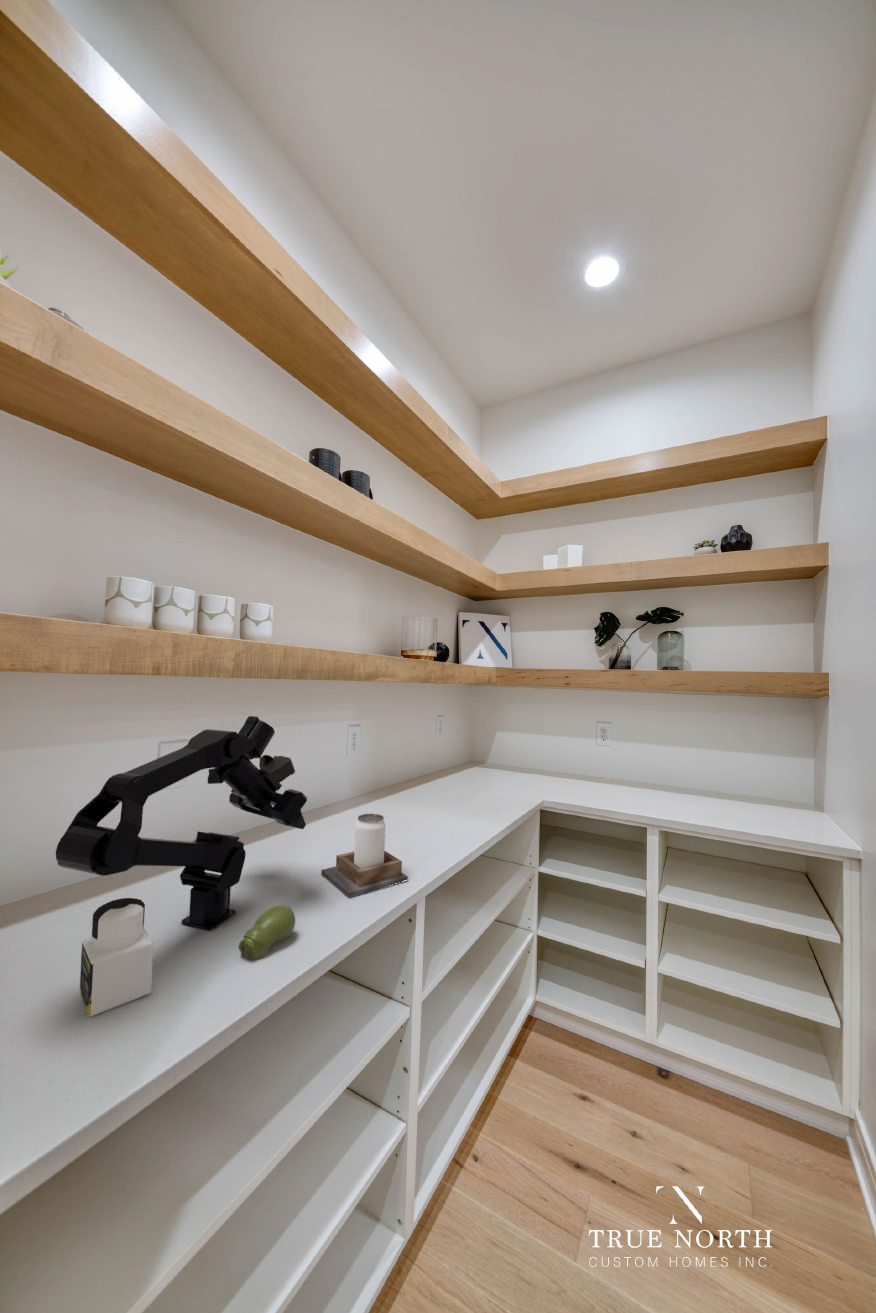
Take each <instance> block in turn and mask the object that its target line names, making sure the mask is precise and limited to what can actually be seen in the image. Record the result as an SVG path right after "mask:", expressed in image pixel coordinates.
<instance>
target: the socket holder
mask: <svg viewBox="0 0 876 1313" xmlns="http://www.w3.org/2000/svg"><path fill="white" fill-rule="evenodd" d="M335 857H336V860H335V861H336V862H335V865H334V866H332V867H328V868H324V869H321V872H320V874H321V876H322V877H323V878H325V879H326V880H327V881H328V882H330V884H332V885H333V886H334V887H335V888H336V889H337V890H339V891H340V892H341V893H342V894H344V895H345V896H346V897H347V898H348V899H350V898H351V899H352V898H355V897H359V896H361V894H362V895H364V894H367V893H368V892H369V893H371V891H372V892H375V891H374V890H376V891H378V890H377V889H379V890H381V889H380V888H383V889H385V888H384V887H386V886H389V885H392V884H395V883H399V882H402V881H404V880H407V879H408V880H409V878H408V877H409V876H408V875H406V874H404V873H403V872H402V867H403V861H402V860H401V859H399V858H398V857H395V856H394V855H393V854H391V853H390V852H388V851H386V850H384V863H383V864H379V865H375V866H371V867H367V868H363V869H361V868H360V867H358V866H357V865H356V864H354V851H351V852H346V853H341V854H337V855H336V856H335ZM389 887H390V886H389ZM386 888H387V887H386ZM369 893H368V894H369Z"/></svg>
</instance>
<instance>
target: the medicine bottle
mask: <svg viewBox="0 0 876 1313" xmlns="http://www.w3.org/2000/svg"><path fill="white" fill-rule="evenodd" d="M145 908H146V904H145V903H144V901H142V900H141V899H139V898H136V897H135V898H134V897H125V898H124V897H122V898H117V899H114V900H111V901H108V902H106V903H104V904H102V905H101V906H99V907H98V908H97V909H96V910H95V911H94V912H93V913H92V924H91V926H92V928H91V936H89V937H85V938H83V939H82V941H81V956H80V974H79V975H80V976H79V978H80V979H79V992H80V995H81V998H82V1000H83V1003H84V1006H85V1010H86V1011H87V1015H88V1017H94V1016H96V1015H99V1014H102V1013H104V1012H107V1011H109V1010H111V1009H115V1008H117V1007H120V1006H122V1005H125V1004H127V1003H129V1002H131V1001H134V1000H137V999H140V998H142V997H144V996H147V995H149V994H151V992H152V981H153V980H152V979H153V978H152V977H153V962H154V960H153V959H154V941H153V940H152V938H151V937H150V935H149V933H148V932H147V930H146V929H145V911H146V910H145Z"/></svg>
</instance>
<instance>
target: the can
mask: <svg viewBox="0 0 876 1313" xmlns="http://www.w3.org/2000/svg"><path fill="white" fill-rule="evenodd" d="M384 819H385V818H384V815H381V814H378V813H363V814H360V815H358V817H357V821H356V823H355V828H354V830H355V832H354V851H353V852H354V864H356V865H357V866H358V867H360V868H361V869H363V868H367V867H371V866H375V865H379V864H383V863H384V851H385V848H386V846H385V844H386V823H385V821H384Z"/></svg>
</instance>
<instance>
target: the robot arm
mask: <svg viewBox="0 0 876 1313" xmlns="http://www.w3.org/2000/svg"><path fill="white" fill-rule="evenodd" d="M275 733H276V732H275V729H274V727H272V726H271V725H270V724H268V723H267V722H265V721H263V720H261V719H260V718H259V717H258V716H255V715H254V716H252V715H249V716H247V719H246V720H245V721H244V724H243V726H242V727H241V728H240V730H239V731H238V732H237V731H230V730H222V729H221V730H219V729H211V728H209V729H208V728H207V729H203V730H202V731H200V732H199V733H197V734H196V735H194V736H192V737H191V738H190V739H189V741H188V742H187V744H186V745H185V746H183V747H182V748H180V749H177V750H175V751H173V752H170V753H167V754H165V755H163V756H161V757H158V758H156V759H154V760H152V761H149V762H146V763H144V764H142V765H138V766H137V767H135V768H131V770H128V771H125V772H121V773H120V772H119V773H116V774H113V775H112V776H110V777H109V778H108V779H107V780H106V782H105V783H104V785H103V786H102V788H101V790H100V791H99V793H98V794H97V795H96V796H95V797H94V798H92V799H91V800H90V801H89V802H88V803H87V804H85V806H83V807H82V808H81V809H80V810H79V811H78V812H76V815H75V816H74V817H73V819H72V821H71V823H70V825H69V826H68V827H67V829H66V830H65V832H64V834H63V835H62V836H61V838H60V840H59V841H58V843H57V846H56V849H55V860H56V862H57V865H58V866H59V867H61V868H65V869H70V870H74V871H79V872H85V873H88V874H93V875H98V876H103V877H104V876H109V875H114V874H120V873H125V872H127V871H129V870H130V869H131V868H133V867H136V866H141V867H142V866H143V867H145V866H149V867H156V866H157V867H184V868H183V870H182V871H181V872H180V874H179V878H180V882H181V885H183V886H190V887H192V888H190V892H189V897H190V898H189V913H188V914H189V915H188V916H186V917H185V918H183V919H181V924H182V925H185V926H186V925H187V926H191V927H195V928H200V929H202V930H208V931H211V930H214V929H216V928H217V927H218V926H220V925H221V924H223V923H224V922H225V921H227V920H228V919H230V918H231V917H232V916H234V915H235V914H236V913H237V910H236V909H234V908H230V905H231V891H232V890H231V888H232V887H233V886H235V885H237V884H238V883H240V881H241V880H240V879H241V876H242V872H243V868H244V864H245V861H246V849H245V848H244V846H245V844H244V842H242V841H240V840H239V839H240V837H239V836H235V835H231V834H230V835H228V834H222V833H217V832H204V831H197V832H196V839H195V840H192V841H188V840H187V841H185V840H175V839H174V840H173V839H164V838H163V839H161V838H150V837H149V838H148V837H141V836H139V834H140V833H141V831H142V825H143V814H144V811H143V810H144V806H145V804H146V802H147V800H148V798H149V797H150V796H152V795H154V794H156V793H158V792H161V791H162V790H164V789H166V788H168V787H170V786H172V785H174V784H176V783H178V782H180V781H182V780H184V779H186V778H188V777H189V776H192V775H194V774H196V773H198V772H200V771H202V770H207V769H208V776H207V784H208V785H214V784H215V785H218V784H223V783H225V784H226V785H228V787H230V788H231V790H230V792H231V793H230V794H229V800H228V802H229V803H230V804H231V805H233V807H235V808H237V809H240V810H242V811H244V812H248V813H250V814H255V815H258V816H262V817H265V818H268V819H271V820H274V821H276V823H277V824H280V825H283V826H287V827H291V828H295V829H299V830H304V829H305V828H306V825H307V824H306V821H305V818H304V815H303V814H302V813H303V812H302V808H304V806H305V805H306V803H307V801H308V797H307V796H306V795H305V794H304V793H303V791H302V792H301V791H299V790H296V789H289V788H288V789H285V790H284V791H283V793H279V792H277V791H279V790H280V789H281V788H282V786H283V784H281V782H283V781H284V780H286V779H287V778H288V777H290V776H293V775H295V773H296V769H295V767H294V764H293V761H292V759H291V758H290V757H288V756H283V755H274V756H271V755H269V754H263V753H264V752H265V750H266V748H267V747H268V746H269V744H270V742H271V740H272V739H273V737H274V735H275ZM254 759H259V765H258V766H259V768H258V767H257V765H255V764H254V763H253V762H252V760H254ZM120 803H121V810H120V817H119V818H120V820H119V822H118V824H117V826H116V827H115V828H111V827H105V826H100V825H98V824H99V823H100V822H101V821H102V820H103V819H104V818H105V817H107V816H108V815H109V814H110V813H111V812H112V811H113V810H114V809H115V808H116V807H118V806H119V804H120ZM206 871H207V872H206ZM212 872H213V873H212Z"/></svg>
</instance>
